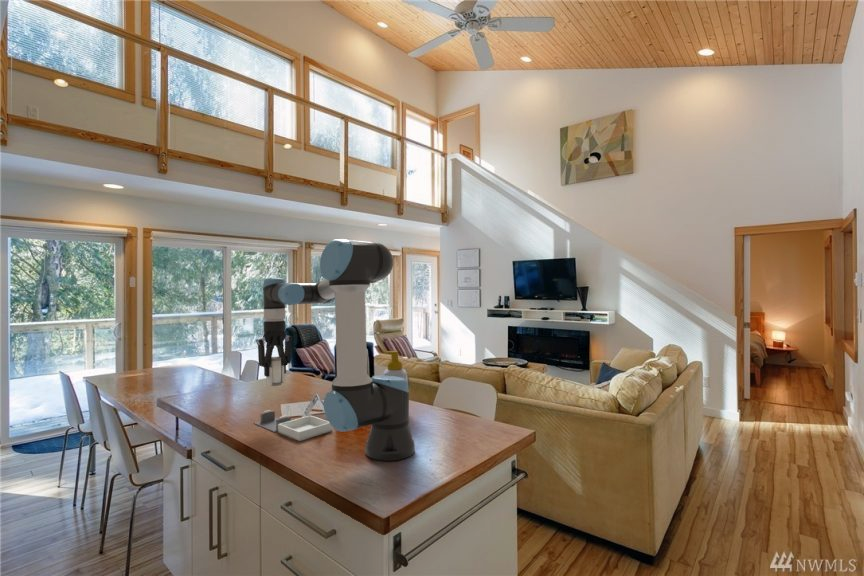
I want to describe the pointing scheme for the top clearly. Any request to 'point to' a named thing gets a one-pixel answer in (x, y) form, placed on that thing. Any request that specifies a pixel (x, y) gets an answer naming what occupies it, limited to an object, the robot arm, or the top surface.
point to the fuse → (276, 371)
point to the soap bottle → (394, 366)
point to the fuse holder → (271, 420)
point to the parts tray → (304, 428)
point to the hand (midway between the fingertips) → (275, 383)
